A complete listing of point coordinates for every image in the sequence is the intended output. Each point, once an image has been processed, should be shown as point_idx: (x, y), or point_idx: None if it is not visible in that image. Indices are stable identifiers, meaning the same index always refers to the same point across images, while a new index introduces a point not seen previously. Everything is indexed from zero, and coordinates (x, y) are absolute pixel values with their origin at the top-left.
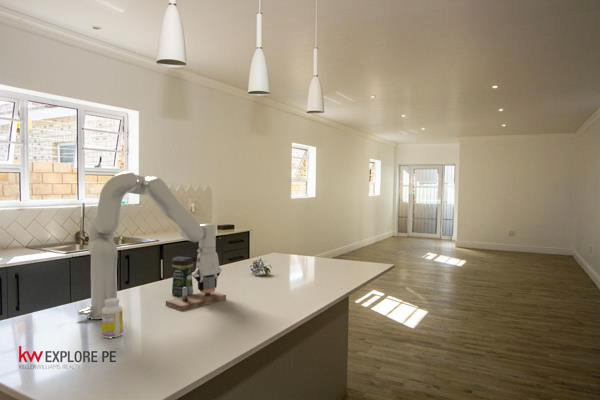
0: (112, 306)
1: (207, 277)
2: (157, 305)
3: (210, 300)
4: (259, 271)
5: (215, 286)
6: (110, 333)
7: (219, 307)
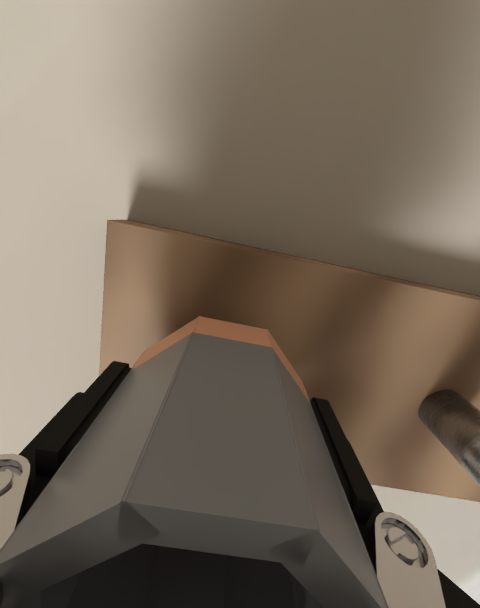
0: None
1: (336, 567)
2: (474, 504)
3: (303, 261)
4: None
5: (123, 372)
6: None
7: (378, 76)
